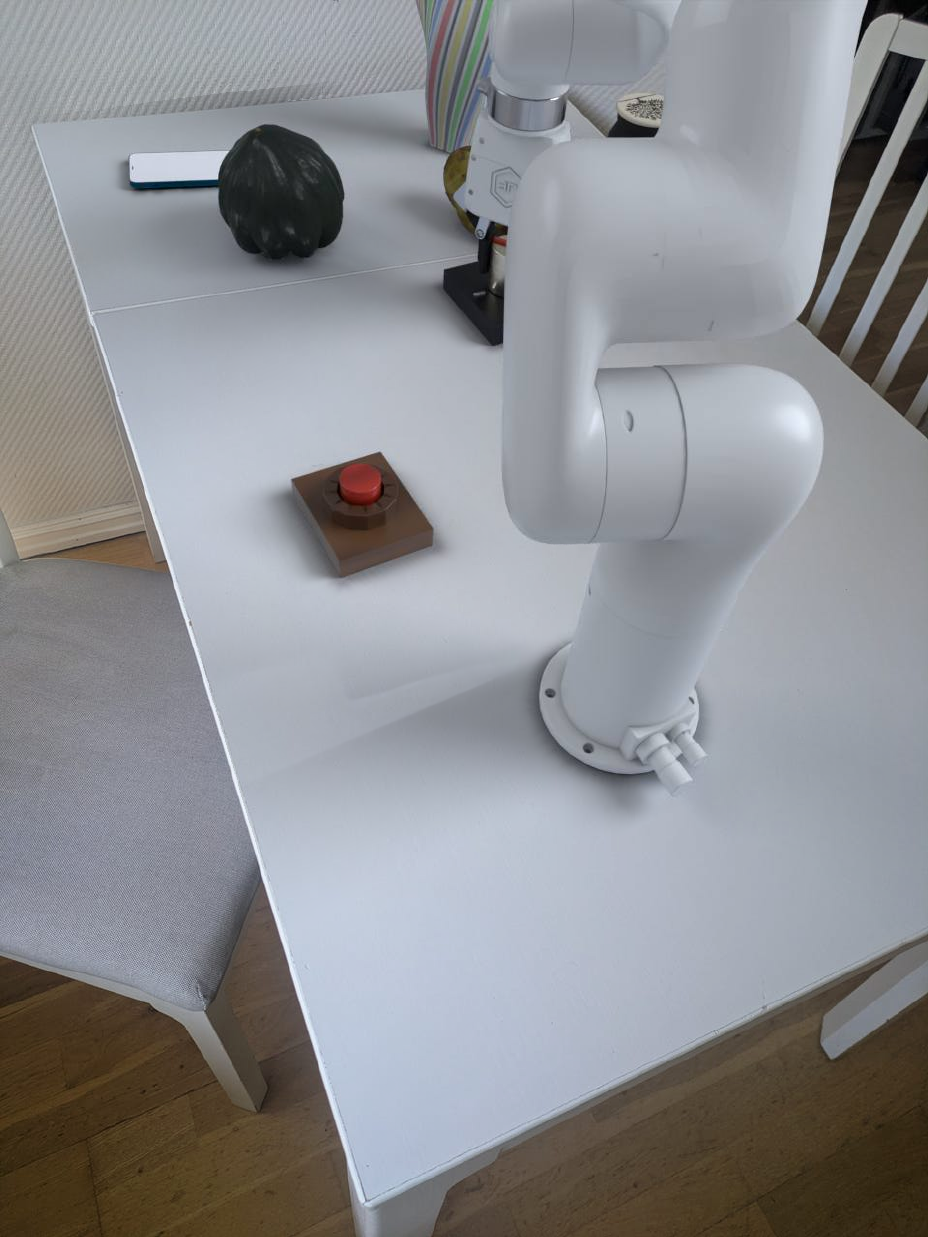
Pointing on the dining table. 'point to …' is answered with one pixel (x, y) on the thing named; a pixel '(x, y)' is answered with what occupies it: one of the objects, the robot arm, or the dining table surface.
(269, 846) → the dining table surface
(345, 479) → the button
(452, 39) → the vase
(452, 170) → the potato
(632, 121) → the travel mug
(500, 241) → the hob knob
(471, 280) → the hob panel
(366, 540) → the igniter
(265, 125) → the squash
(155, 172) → the smartphone
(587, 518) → the robot arm
